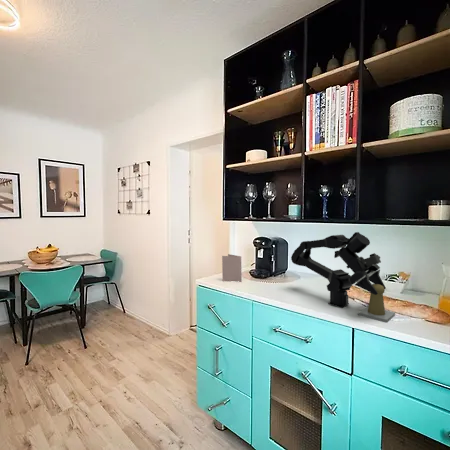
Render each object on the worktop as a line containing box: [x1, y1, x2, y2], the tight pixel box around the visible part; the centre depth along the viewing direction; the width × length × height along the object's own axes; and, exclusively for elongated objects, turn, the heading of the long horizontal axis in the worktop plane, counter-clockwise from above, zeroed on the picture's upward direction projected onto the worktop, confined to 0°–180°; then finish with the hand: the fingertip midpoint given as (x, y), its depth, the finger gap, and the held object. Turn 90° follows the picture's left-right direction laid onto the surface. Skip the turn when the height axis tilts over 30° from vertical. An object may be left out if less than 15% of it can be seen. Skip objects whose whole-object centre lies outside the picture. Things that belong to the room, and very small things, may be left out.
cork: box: [367, 283, 386, 315], centre depth 104 cm, size 6×6×11 cm
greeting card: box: [221, 253, 243, 283], centre depth 156 cm, size 11×7×15 cm, turn 41°
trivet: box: [357, 305, 396, 323], centre depth 104 cm, size 10×10×1 cm
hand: (380, 291), depth 103 cm, fingers open, 9 cm apart
